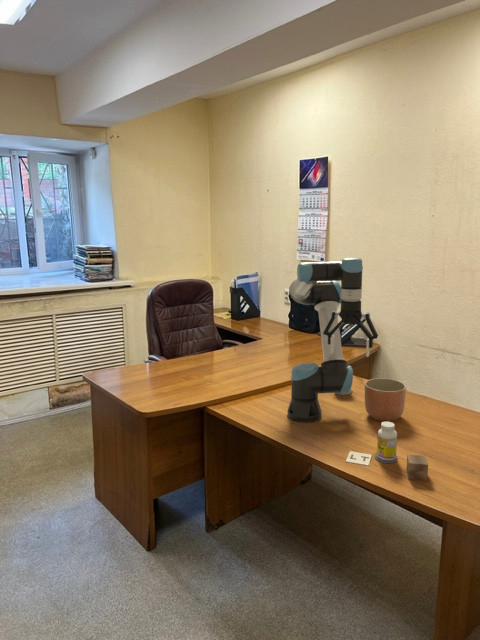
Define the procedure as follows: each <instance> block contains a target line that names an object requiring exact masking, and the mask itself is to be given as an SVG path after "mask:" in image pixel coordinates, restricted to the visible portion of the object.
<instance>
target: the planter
mask: <svg viewBox="0 0 480 640" xmlns="http://www.w3.org/2000/svg"><path fill="white" fill-rule="evenodd" d="M406 393H407V385H406V384H405V383H404V382H402V381H400V380H397V379H392V378H385V377H378V378H371V379H367V380H366V381H365V383H364V407H365V410H366V413H367V415H368V416H370V418H371V419H374V420H375V421H377V422H381V423H382V422H392V423H393V422H394V421H395V422H396V421H397V420H398V419H401V417H402V415H403V413H404V410H405V403H406Z"/></svg>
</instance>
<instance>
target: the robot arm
mask: <svg viewBox="0 0 480 640" xmlns="http://www.w3.org/2000/svg"><path fill="white" fill-rule="evenodd" d="M363 270H364V267H363V260H362V258H360V257H345V258H343V259H341V260H338V261H314V262H313V261H305V262H299V263H298V264H297V268H296V275H297V278H296V279H295V280H293V281H292V282H291V283H290V285H289V288H288V293H289V295H290V297H291V299H293V300H294V302H296V303H298V304H302V305H305V306H306V305H307V306H309V305H310V306H311V305H313V306H314V310H315V311H317V312H318V321H319V331H320V339H321V348H322V349H321V350H322V355H323V356H322V358H323V360H322V361H321V362H320V366H319V365H318V364H317V363H316V362H302V363H299V364H297V365H295V366H293V367H292V369H291V374H290V379H291V380H290V381H291V390H290V394H291V399H290V401H289V404H288V407H287V417H288V419H290V420H292V421H295V422H298V423H312V422H317V421H319V420H320V419H321V418H322V416H323V414H322V408H321V405H320V401H319V394H336V393H342V392H348V391H349V390H350V389H352V385H353V380H354V371H353V366H351V365H348V360H346V359H345V358H344V356H343V354H344V353H343V347H342V339H341V332H340V331H341V330H340V327H341V326H342V325H343V324H345V325H353V326H355V325H357V327H359V328H360V330H361V331H362V332H363V333H364V335H365V336H366V337H367V339H366V354H365V356H366V358H368V357H370V349H372V348H373V344H374V340H377V338H378V337H379V334H378V332H377V330H376V328H375V326H374V324H373V321H372V320H371V313H370V312H366V313H362V300H361V299H362V290H363V289H362V288H363V287H362V286H363V284H362V283H363ZM340 282H341V283H340ZM339 307H340V311H338V309H339ZM338 317H339V318H340V321H339V318H338ZM362 317H363V319H364V320H365V321H366V323H367V325H368V328H369V329H368V328H367V327H366V326H365V324H364V323H363V321H362V320H361V319H362Z"/></svg>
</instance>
